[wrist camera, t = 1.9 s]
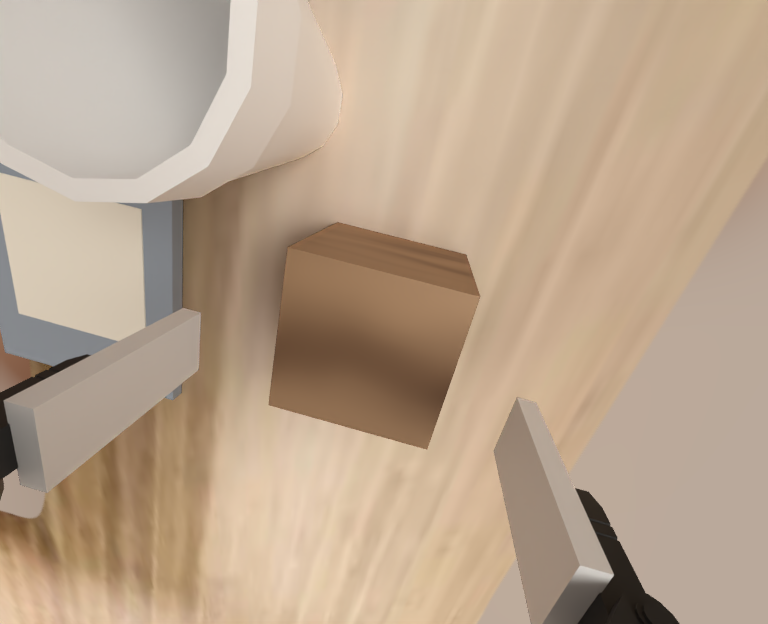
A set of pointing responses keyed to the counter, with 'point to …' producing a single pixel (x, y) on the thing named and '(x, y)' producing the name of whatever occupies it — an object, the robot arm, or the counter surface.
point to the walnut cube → (371, 331)
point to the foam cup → (160, 93)
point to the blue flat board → (83, 270)
